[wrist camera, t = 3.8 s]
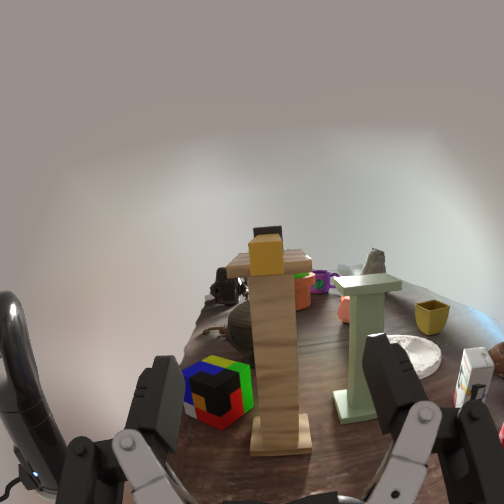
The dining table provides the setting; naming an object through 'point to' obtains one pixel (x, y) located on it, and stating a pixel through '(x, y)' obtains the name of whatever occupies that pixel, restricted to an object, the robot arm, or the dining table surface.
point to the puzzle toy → (217, 391)
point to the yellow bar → (266, 251)
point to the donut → (498, 358)
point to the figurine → (374, 263)
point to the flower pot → (431, 316)
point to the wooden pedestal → (276, 356)
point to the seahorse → (221, 328)
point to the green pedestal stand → (361, 339)
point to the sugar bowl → (344, 309)
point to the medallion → (419, 353)
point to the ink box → (473, 376)
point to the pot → (242, 331)
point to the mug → (322, 281)
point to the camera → (228, 288)
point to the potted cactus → (303, 289)
